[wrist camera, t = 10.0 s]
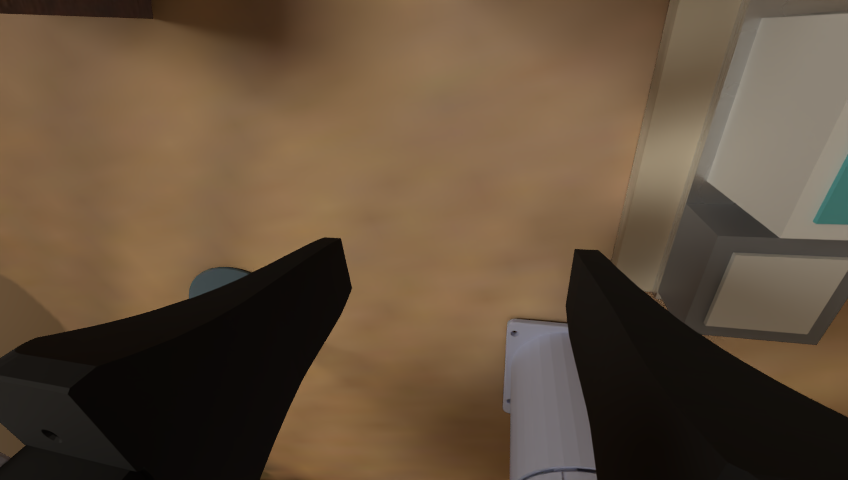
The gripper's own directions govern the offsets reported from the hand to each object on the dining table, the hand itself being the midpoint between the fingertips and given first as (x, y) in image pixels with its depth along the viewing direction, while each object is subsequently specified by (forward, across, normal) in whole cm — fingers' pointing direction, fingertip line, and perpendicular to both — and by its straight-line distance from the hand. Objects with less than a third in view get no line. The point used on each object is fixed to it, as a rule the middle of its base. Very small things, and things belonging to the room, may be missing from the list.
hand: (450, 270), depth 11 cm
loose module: (+8, -12, -3) cm, 15 cm away
